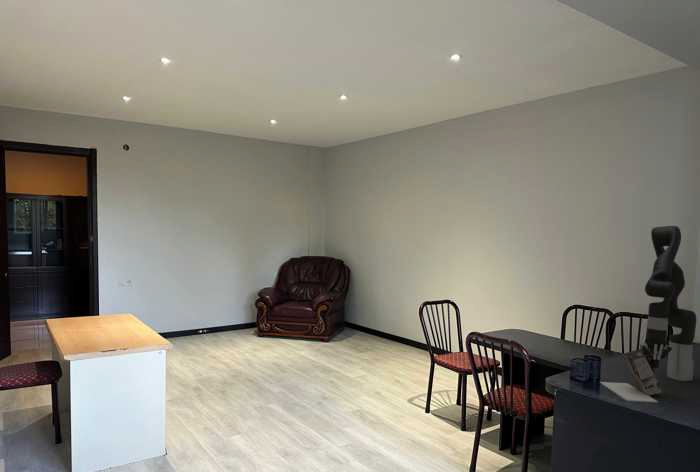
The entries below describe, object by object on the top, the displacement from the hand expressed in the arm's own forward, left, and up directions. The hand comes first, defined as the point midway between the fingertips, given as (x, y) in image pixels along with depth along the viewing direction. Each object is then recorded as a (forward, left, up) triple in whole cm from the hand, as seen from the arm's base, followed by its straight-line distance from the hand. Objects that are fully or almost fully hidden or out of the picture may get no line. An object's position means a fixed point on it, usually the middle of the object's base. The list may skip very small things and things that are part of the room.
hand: (654, 367), depth 205 cm
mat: (+11, 0, -11) cm, 16 cm away
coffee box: (+1, 0, -10) cm, 10 cm away
